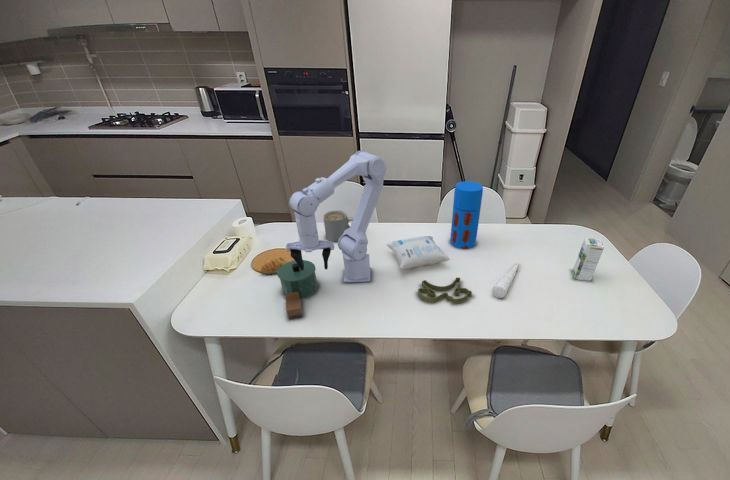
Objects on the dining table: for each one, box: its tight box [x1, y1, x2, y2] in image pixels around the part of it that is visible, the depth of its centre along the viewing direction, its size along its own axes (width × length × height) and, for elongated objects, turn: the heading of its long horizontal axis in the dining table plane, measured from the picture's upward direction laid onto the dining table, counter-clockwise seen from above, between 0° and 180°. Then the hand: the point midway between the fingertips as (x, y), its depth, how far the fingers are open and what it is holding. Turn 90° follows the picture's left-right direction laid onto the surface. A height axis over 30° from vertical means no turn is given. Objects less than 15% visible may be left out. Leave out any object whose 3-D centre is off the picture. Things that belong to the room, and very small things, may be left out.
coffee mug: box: [322, 209, 354, 243], centre depth 151 cm, size 13×10×10 cm
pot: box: [279, 271, 318, 300], centre depth 121 cm, size 12×12×8 cm
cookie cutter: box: [417, 277, 473, 305], centre depth 121 cm, size 18×12×2 cm, turn 98°
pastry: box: [260, 256, 287, 275], centre depth 131 cm, size 9×7×4 cm
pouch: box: [385, 235, 451, 270], centre depth 136 cm, size 8×19×20 cm
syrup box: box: [572, 237, 605, 282], centre depth 126 cm, size 6×6×14 cm
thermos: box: [450, 180, 484, 250], centre depth 142 cm, size 11×11×25 cm
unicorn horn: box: [491, 263, 519, 299], centre depth 126 cm, size 5×24×5 cm, turn 146°
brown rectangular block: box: [285, 291, 303, 320], centre depth 113 cm, size 9×4×4 cm, turn 17°
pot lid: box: [276, 259, 316, 282], centre depth 118 cm, size 13×13×3 cm
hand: (314, 268), depth 115 cm, fingers open, 7 cm apart
